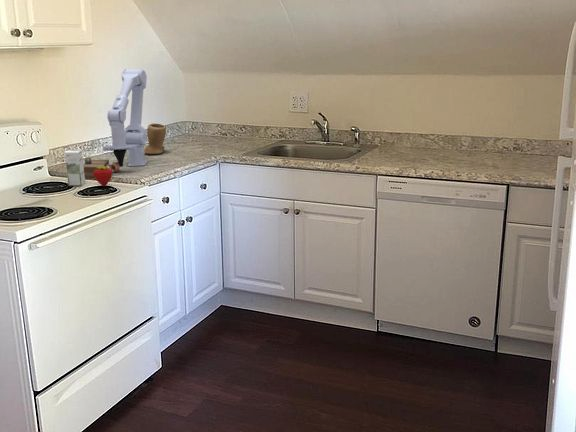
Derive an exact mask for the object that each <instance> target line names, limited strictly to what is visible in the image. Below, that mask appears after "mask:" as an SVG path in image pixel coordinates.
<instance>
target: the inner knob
mask: <svg viewBox="0 0 576 432" xmlns="http://www.w3.org/2000/svg"><path fill="white" fill-rule="evenodd" d="M107 166H112V172H119V171H120V166H119V163H118V161H113V162H112V163H111V164H110V163H109V164H107Z"/></svg>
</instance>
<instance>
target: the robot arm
mask: <svg viewBox="0 0 576 432" xmlns="http://www.w3.org/2000/svg"><path fill="white" fill-rule="evenodd" d="M147 76H148V75H147V73H146V71H145V69H143V68H140V69H134V68H133V69H127V68H124V69H123V70H122V72H121V80H122V85H121V88H120V89H121V90H120V92H119V94H118V95H116V98H115V100H114V102H113V105H112V108H111V109H109V110H108V112H107V117H106V118H107V121H108V123H109V127H110V130H111V141H112V142H111V143H112V145H103V146H102V152H108V151H109V152H110V151H111V152H112V151H113V155H114V156H115V158H116V160H117V162H118V163H119V166H120V167H123V166H124V159H125V156H126V153H127V151H128V161H129V163H128V164H127V167H137V166H146V165H147V162H148V160H146V156H145V154H146V153H145V152H144V150H145V145H146V144H147V141H148V137H147V129H146V128H145V127H144V126H143V125H142V120H143V119H142V117H143V103H144V102H143V101H144V99H143V98H144V89H147ZM130 94H131V105H130V119H129V120H130V121H129V125H127V126H126V127H125V122H126V119H127V108H128V105H129V102H130V100H129V98H128V97H129V95H130Z"/></svg>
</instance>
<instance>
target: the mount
mask: <svg viewBox="0 0 576 432" xmlns="http://www.w3.org/2000/svg"><path fill="white" fill-rule="evenodd" d="M91 162H92V164H85V163H83V167H84V176H85V180H86V179H87V180H88V179H95V178H94V175H93V172H94V171H95V170H97V169H99V168H97V167H102V166H103V165H104V167H105V166H107V164H110V160H109V159H91ZM102 162H103V163H102Z"/></svg>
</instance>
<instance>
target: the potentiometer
mask: <svg viewBox="0 0 576 432" xmlns="http://www.w3.org/2000/svg"><path fill="white" fill-rule="evenodd" d="M91 160H92V159H91V157H90V155H89V154H88V155H87V154H86V155H85V158H84V164H92V162H91Z"/></svg>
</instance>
